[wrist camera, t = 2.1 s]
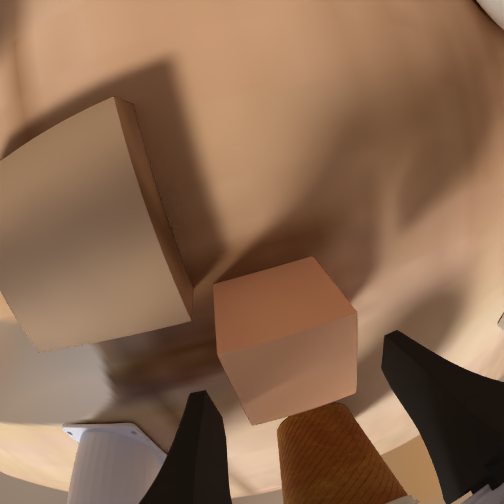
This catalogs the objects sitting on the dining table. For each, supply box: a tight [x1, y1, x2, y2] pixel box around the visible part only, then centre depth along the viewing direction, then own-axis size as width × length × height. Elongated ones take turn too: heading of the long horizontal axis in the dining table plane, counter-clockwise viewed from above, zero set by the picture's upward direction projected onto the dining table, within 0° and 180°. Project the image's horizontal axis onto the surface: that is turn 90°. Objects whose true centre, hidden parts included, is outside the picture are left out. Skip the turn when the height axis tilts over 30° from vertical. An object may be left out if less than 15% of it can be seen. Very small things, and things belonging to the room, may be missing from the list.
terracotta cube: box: [213, 256, 358, 425], centre depth 13 cm, size 5×5×5 cm
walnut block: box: [0, 96, 194, 353], centre depth 11 cm, size 9×9×3 cm
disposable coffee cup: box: [277, 403, 419, 504], centre depth 15 cm, size 10×10×12 cm
